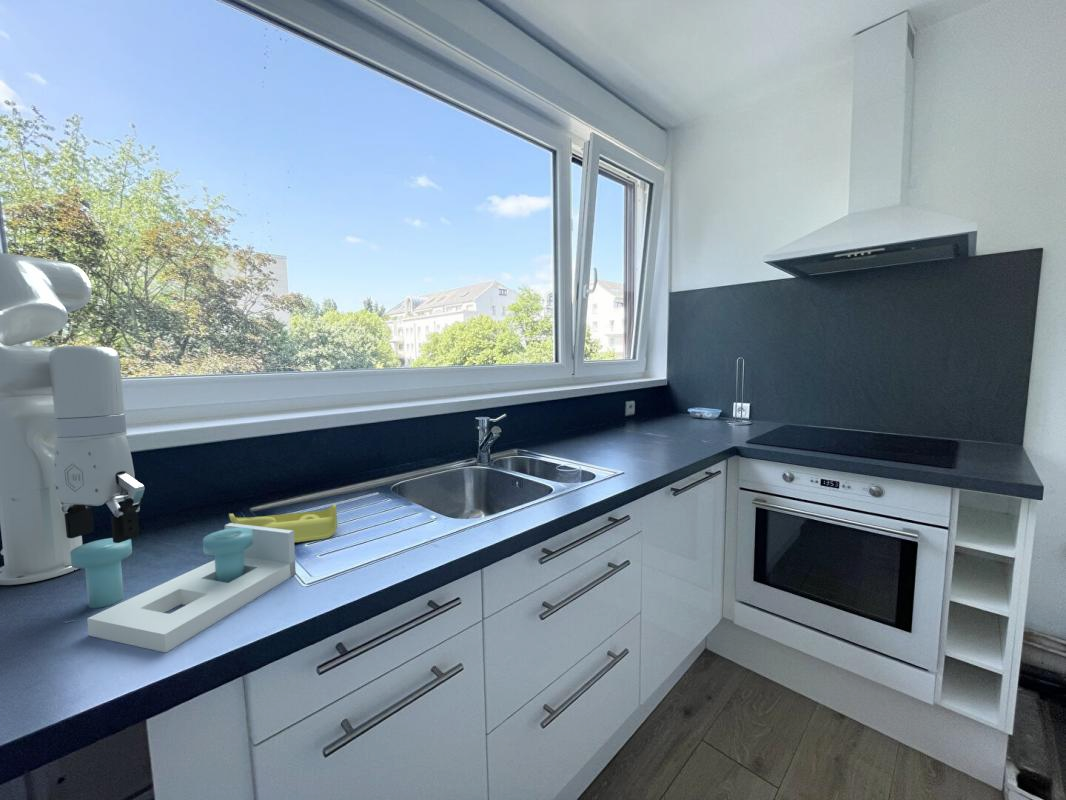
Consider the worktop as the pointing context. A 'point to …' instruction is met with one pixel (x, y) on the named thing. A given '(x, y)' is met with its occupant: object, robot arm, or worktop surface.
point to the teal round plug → (102, 569)
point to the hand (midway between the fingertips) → (103, 537)
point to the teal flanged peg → (228, 551)
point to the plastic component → (297, 523)
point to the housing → (198, 596)
